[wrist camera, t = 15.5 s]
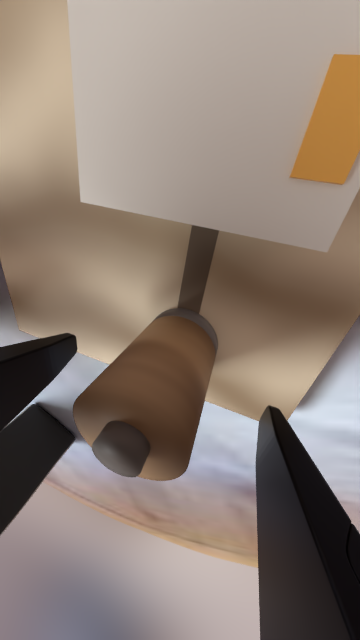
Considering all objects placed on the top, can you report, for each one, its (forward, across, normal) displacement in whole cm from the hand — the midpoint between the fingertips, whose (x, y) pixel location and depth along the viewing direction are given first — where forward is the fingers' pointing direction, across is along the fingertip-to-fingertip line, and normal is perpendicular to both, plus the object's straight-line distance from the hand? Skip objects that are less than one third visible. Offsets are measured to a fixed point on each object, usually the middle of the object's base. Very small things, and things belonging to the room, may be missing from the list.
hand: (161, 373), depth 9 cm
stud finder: (+3, 0, -8) cm, 9 cm away
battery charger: (+5, +14, +19) cm, 24 cm away
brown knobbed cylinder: (+3, 0, 0) cm, 3 cm away
